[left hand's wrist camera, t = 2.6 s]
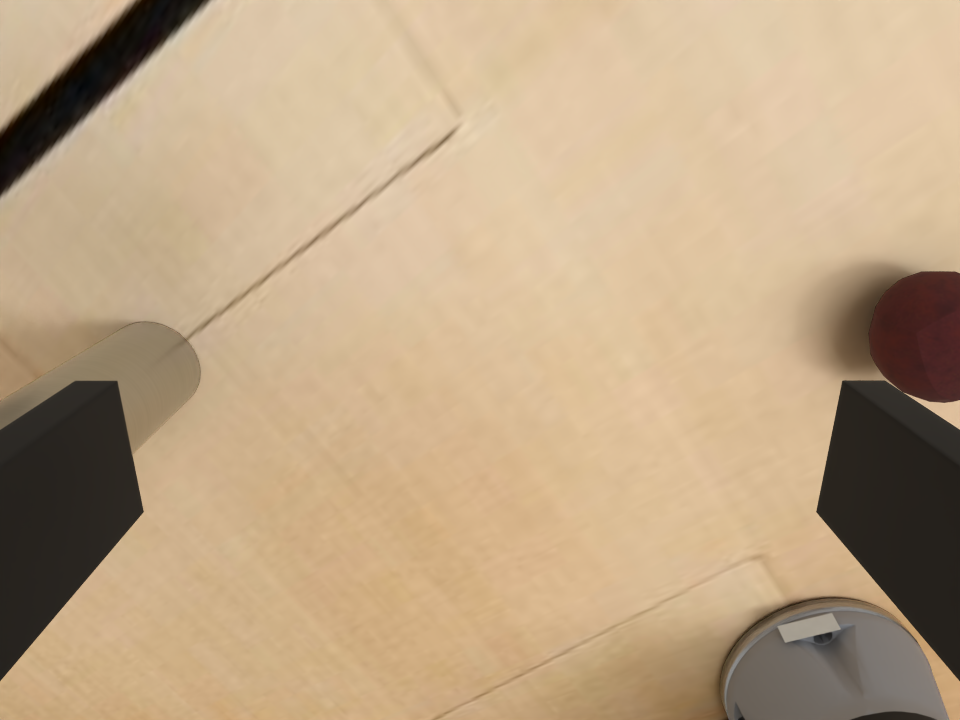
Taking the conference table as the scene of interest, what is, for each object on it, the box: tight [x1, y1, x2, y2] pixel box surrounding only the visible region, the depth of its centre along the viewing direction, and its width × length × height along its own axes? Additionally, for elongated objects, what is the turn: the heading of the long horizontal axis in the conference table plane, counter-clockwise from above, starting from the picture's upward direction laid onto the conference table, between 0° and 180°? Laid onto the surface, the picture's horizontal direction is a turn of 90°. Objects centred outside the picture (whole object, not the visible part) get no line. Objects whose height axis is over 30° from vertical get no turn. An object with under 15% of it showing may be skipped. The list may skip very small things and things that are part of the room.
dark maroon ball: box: [869, 272, 960, 403], centre depth 39 cm, size 7×8×7 cm
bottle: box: [0, 322, 200, 454], centre depth 33 cm, size 6×6×24 cm
